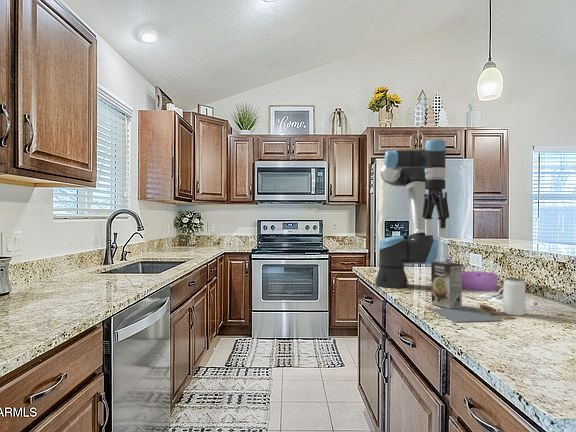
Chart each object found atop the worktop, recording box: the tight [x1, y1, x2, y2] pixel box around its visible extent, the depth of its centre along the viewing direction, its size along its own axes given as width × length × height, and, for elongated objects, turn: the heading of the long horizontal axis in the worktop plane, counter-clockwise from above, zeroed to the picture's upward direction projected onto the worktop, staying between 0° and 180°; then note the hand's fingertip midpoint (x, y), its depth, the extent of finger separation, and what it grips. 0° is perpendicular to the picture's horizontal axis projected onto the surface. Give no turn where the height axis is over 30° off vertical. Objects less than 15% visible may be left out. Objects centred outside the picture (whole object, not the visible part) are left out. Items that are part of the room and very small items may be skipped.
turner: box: [479, 304, 516, 320], centre depth 132 cm, size 15×4×1 cm, turn 6°
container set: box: [445, 258, 498, 292], centre depth 178 cm, size 25×15×13 cm, turn 85°
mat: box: [431, 307, 503, 324], centre depth 129 cm, size 16×16×1 cm
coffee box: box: [430, 261, 463, 309], centre depth 141 cm, size 9×6×16 cm
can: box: [502, 277, 526, 317], centre depth 131 cm, size 6×6×12 cm
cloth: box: [478, 286, 537, 307], centre depth 153 cm, size 22×19×6 cm
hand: (435, 235), depth 150 cm, fingers open, 10 cm apart
